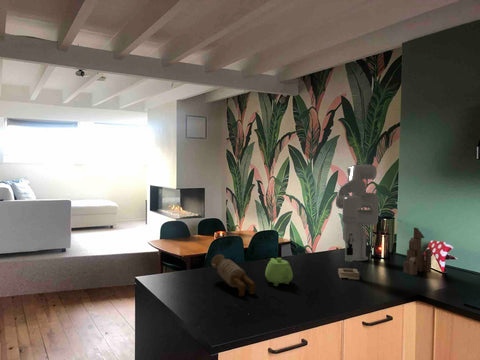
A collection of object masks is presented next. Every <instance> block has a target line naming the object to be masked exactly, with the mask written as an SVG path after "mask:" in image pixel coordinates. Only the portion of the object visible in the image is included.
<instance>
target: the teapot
mask: <svg viewBox="0 0 480 360" xmlns="http://www.w3.org/2000/svg"><path fill="white" fill-rule="evenodd" d="M266 265H267V266H266V268H265V272H264V274H265V275H264V276H265V278H266V280H267V281H268V283H273V284H272V285H273V286H275V287H278V286H279V284H283V285H286V284H289V285H290V282H291V281H292V280H293V278H294V273H293V270H292V266H291V265H290V262H288V261H287V260H285V259H282V257H277V258H274V257H273V258H270V260H269V261H268V263H267V264H266Z"/></svg>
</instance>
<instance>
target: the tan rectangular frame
mask: <svg viewBox="0 0 480 360" xmlns="http://www.w3.org/2000/svg"><path fill="white" fill-rule="evenodd" d="M337 272H338V276H339V279H341V278H348V279H347V280H360V272H359V271H358V269H357V268H345V267H344V268H341V267H340V268H338V271H337Z"/></svg>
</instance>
